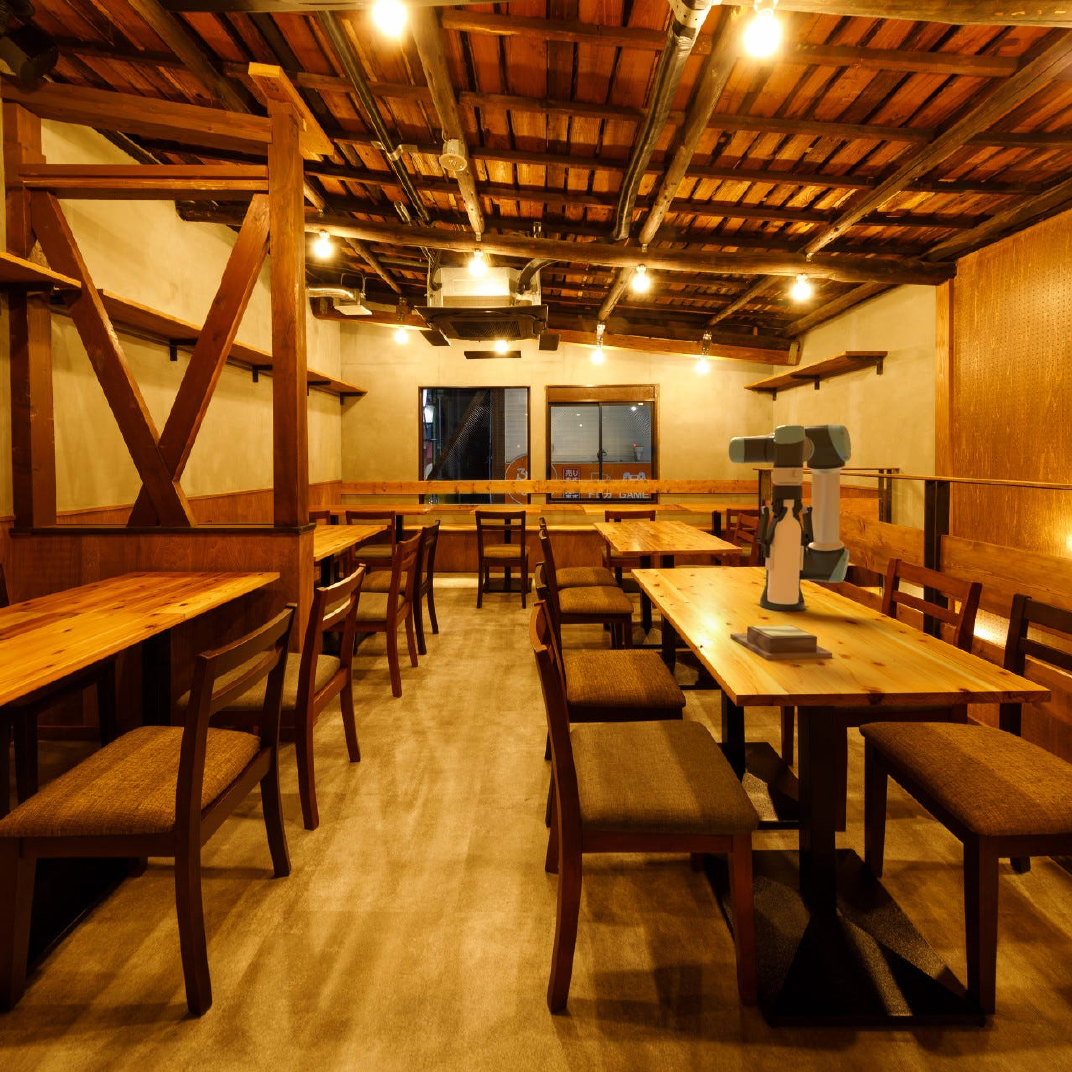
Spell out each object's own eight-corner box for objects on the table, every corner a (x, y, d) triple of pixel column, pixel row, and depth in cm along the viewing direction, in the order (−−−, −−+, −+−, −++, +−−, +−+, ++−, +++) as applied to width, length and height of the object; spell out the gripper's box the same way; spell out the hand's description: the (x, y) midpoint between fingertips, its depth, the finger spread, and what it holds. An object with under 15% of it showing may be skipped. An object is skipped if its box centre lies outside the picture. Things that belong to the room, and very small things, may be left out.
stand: (730, 637, 184) (730, 619, 184) (788, 636, 186) (789, 617, 186) (766, 659, 163) (767, 638, 162) (832, 657, 165) (833, 636, 164)
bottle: (784, 605, 165) (788, 490, 162) (760, 600, 172) (764, 489, 169) (805, 602, 168) (810, 490, 166) (781, 597, 175) (785, 489, 172)
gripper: (757, 484, 162) (754, 572, 164) (832, 484, 165) (827, 571, 167) (744, 484, 169) (741, 568, 172) (815, 484, 172) (812, 567, 174)
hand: (783, 569), depth 169 cm, fingers closed on bottle, 8 cm apart
